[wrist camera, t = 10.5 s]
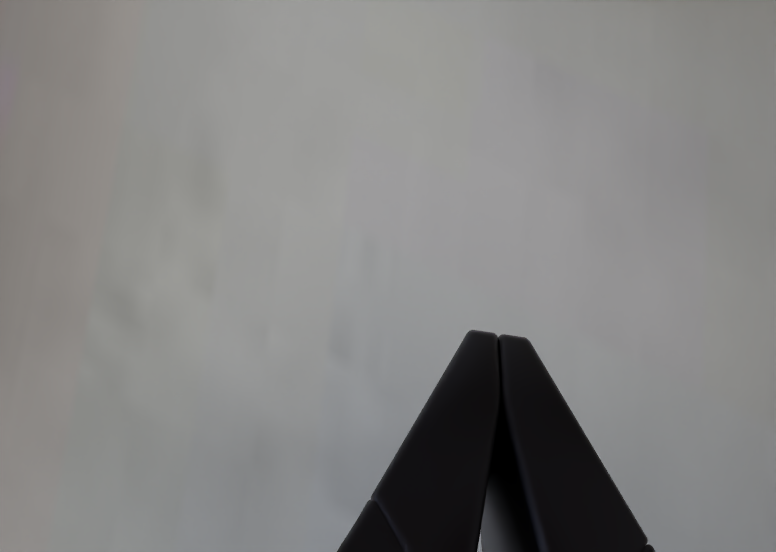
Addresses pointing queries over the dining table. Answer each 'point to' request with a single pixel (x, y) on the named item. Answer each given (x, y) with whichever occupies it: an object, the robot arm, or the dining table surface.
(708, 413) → the dining table surface
